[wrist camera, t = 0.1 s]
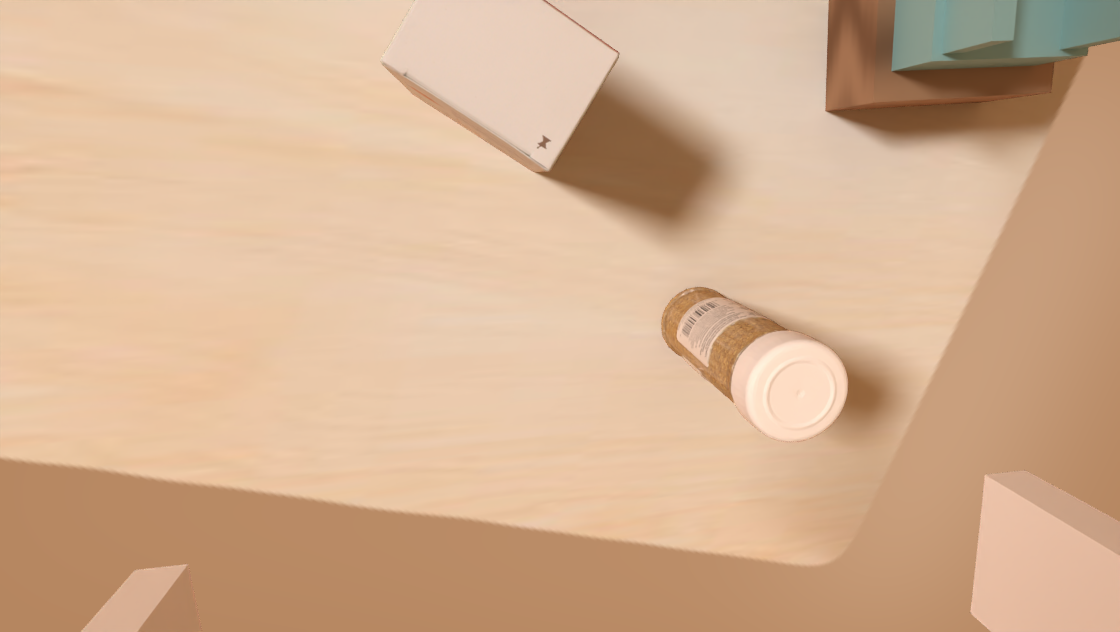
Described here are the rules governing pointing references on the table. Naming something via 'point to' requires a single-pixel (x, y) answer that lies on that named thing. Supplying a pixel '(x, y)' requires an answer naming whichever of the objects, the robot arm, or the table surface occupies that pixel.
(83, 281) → the table surface
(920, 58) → the top block
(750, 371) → the sprinkles bottle
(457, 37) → the small box
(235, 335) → the table surface
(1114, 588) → the robot arm
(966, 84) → the bottom block
